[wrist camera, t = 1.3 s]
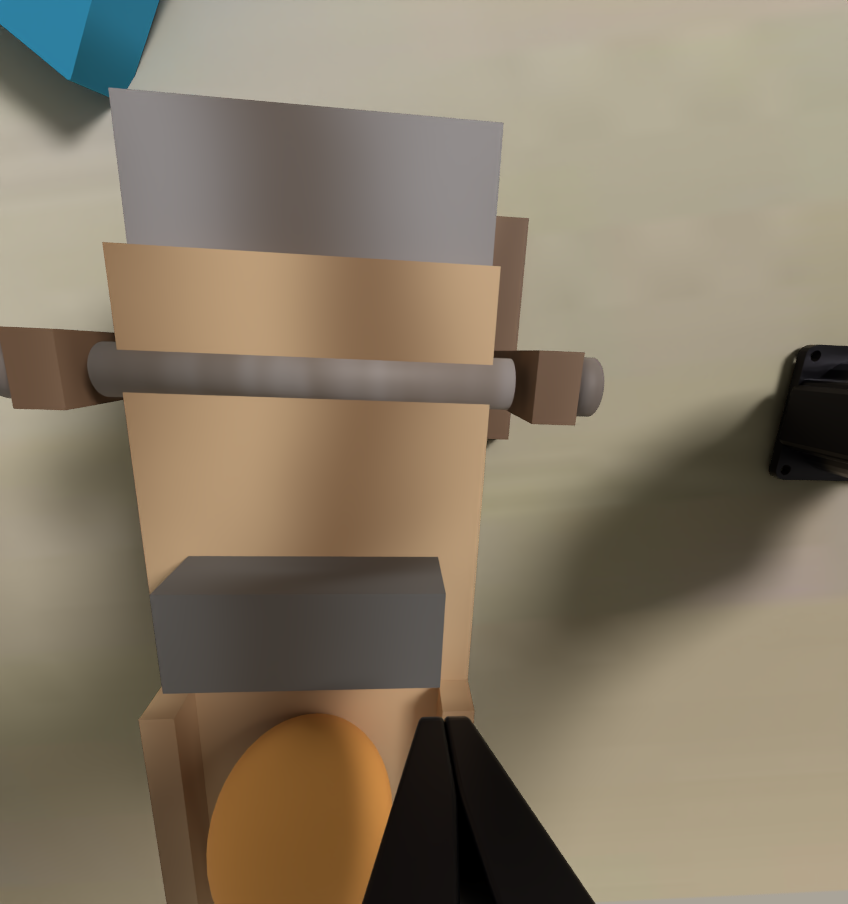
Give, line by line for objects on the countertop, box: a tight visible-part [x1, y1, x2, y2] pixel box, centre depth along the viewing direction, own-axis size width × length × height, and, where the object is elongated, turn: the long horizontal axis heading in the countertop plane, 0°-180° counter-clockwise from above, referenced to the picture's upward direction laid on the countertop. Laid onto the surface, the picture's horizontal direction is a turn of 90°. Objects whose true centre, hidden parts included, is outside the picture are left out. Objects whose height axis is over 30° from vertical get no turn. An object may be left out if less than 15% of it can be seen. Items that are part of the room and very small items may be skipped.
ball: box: [206, 713, 392, 904], centre depth 9 cm, size 4×4×4 cm
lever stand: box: [0, 216, 604, 439], centre depth 13 cm, size 14×9×10 cm, turn 87°
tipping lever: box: [87, 87, 516, 904], centre depth 12 cm, size 9×22×7 cm, turn 178°
